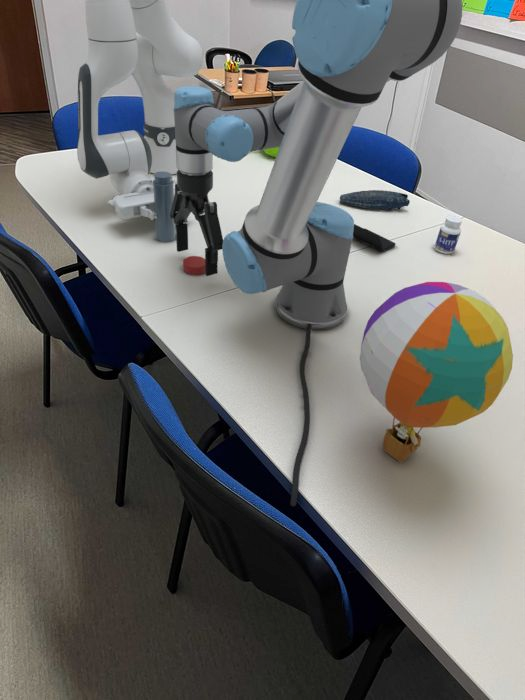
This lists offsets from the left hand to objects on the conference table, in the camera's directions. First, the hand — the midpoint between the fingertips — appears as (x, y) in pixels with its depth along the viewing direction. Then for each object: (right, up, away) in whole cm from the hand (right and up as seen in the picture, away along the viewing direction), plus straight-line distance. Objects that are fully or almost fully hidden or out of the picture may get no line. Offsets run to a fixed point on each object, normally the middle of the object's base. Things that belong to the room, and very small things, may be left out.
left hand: (166, 214), depth 129 cm
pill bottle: (+73, -7, +11) cm, 74 cm away
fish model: (+58, +10, +31) cm, 66 cm away
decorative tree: (+26, +39, +62) cm, 78 cm away
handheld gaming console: (+53, -5, +11) cm, 54 cm away
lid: (+8, -13, -7) cm, 17 cm away
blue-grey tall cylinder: (-1, -5, +5) cm, 7 cm away
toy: (+46, -50, -46) cm, 82 cm away
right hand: (+9, -13, -8) cm, 18 cm away
